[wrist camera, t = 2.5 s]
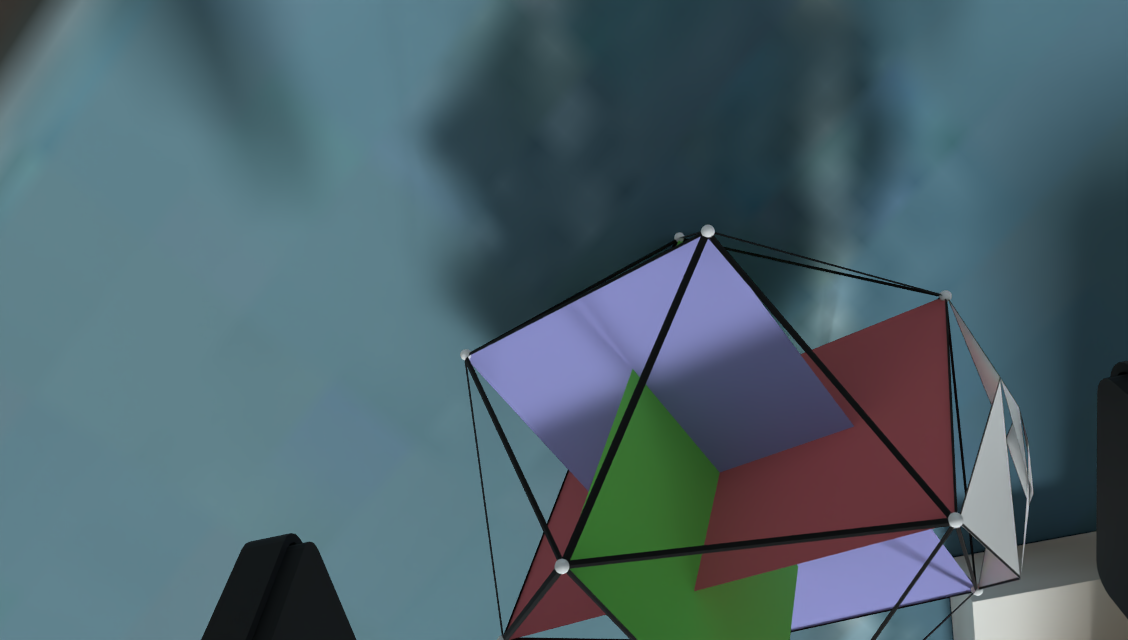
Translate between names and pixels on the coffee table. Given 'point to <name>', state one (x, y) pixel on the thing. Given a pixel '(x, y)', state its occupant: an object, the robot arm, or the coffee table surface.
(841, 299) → the coffee table surface
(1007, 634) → the tower base
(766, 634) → the geometric puzzle
